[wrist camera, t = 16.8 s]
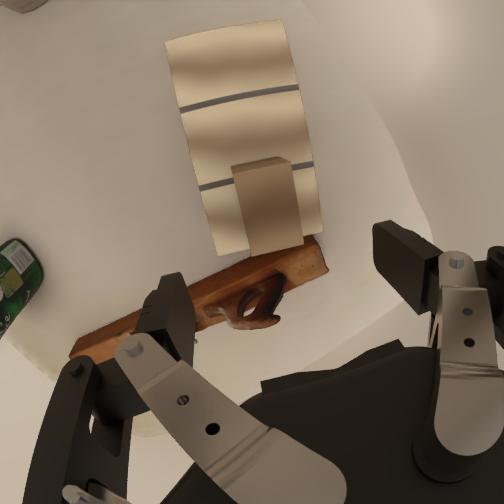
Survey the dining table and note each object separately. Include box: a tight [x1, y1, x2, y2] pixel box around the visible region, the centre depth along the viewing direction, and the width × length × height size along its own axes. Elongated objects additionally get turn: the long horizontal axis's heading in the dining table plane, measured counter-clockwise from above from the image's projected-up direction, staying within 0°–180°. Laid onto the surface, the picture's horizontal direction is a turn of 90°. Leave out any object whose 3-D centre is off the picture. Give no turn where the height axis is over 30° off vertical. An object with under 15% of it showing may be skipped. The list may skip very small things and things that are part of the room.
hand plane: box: [69, 234, 329, 364], centre depth 29 cm, size 34×5×10 cm, turn 118°
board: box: [165, 20, 323, 256], centre depth 26 cm, size 22×11×2 cm, turn 12°
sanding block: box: [231, 156, 304, 256], centre depth 25 cm, size 7×4×5 cm, turn 12°
